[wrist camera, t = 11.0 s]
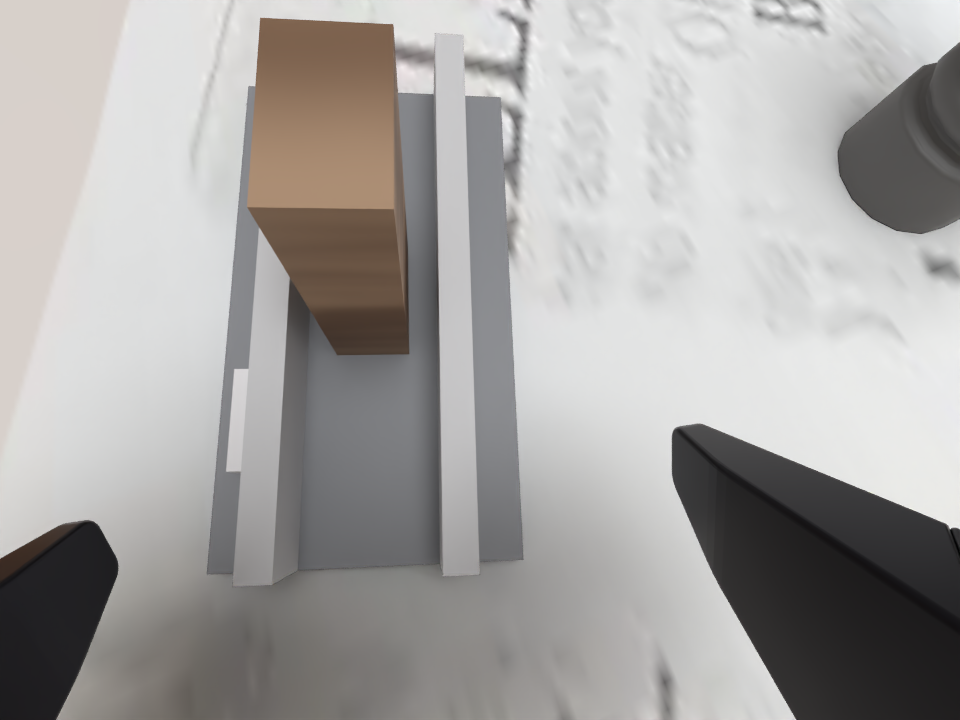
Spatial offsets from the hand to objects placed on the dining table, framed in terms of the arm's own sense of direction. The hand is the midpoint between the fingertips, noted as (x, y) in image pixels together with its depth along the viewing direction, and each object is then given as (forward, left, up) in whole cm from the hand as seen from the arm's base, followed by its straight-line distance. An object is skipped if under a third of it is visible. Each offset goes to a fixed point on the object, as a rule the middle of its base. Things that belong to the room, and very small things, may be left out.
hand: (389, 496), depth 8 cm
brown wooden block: (+4, +6, -10) cm, 12 cm away
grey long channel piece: (+4, +6, -11) cm, 13 cm away
